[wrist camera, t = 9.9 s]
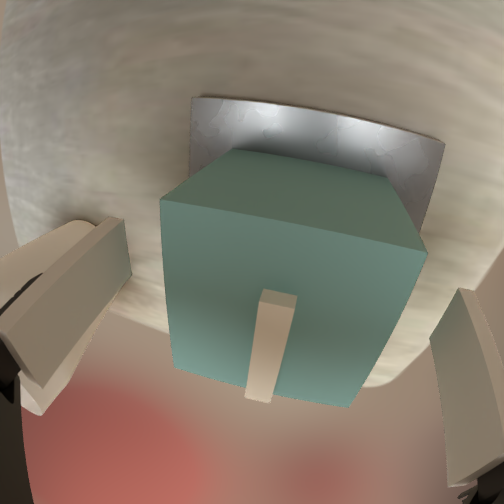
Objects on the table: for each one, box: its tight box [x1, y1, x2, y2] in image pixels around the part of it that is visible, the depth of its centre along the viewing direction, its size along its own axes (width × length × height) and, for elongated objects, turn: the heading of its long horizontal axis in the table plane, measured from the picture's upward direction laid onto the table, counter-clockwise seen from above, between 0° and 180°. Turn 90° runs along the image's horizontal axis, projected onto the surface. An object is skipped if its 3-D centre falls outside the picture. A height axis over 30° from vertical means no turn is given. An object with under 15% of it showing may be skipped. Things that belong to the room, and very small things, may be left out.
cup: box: [0, 220, 121, 416], centre depth 17 cm, size 9×9×12 cm
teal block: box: [160, 149, 428, 407], centre depth 12 cm, size 7×7×8 cm
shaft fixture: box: [189, 96, 445, 234], centre depth 14 cm, size 12×12×6 cm
